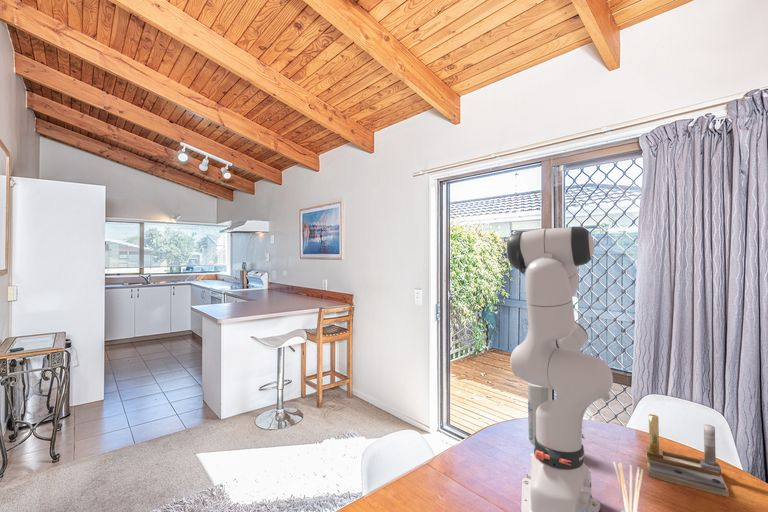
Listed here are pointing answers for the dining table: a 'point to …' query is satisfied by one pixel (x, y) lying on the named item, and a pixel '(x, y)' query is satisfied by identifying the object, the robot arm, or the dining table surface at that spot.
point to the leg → (654, 438)
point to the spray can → (535, 406)
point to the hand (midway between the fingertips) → (608, 399)
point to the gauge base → (691, 468)
